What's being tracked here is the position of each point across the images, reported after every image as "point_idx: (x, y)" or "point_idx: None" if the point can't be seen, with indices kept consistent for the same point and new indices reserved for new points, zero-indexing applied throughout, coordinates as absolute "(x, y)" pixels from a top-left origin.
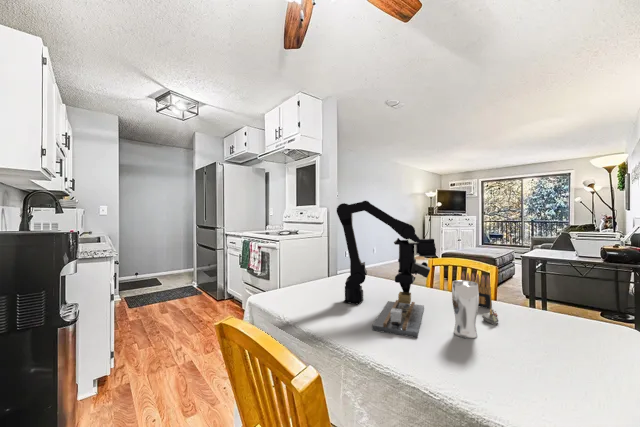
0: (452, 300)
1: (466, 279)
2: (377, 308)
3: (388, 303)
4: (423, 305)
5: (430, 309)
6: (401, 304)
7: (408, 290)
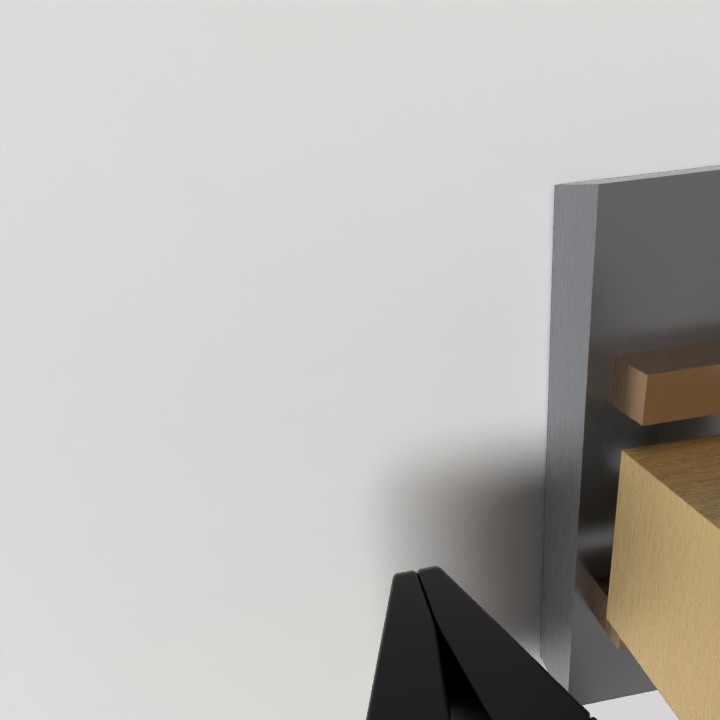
0: None
1: None
2: None
3: None
4: (597, 196)
5: (495, 69)
6: None
7: (550, 690)
